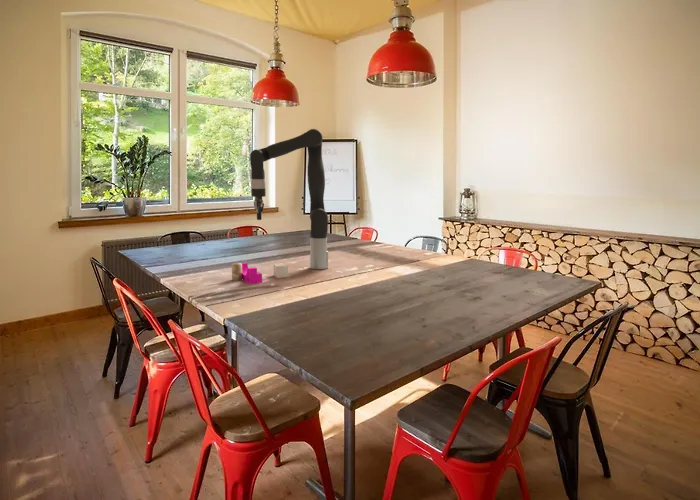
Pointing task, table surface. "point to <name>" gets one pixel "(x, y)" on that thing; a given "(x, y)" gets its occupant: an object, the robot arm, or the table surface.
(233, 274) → the birch cylinder
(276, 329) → the table surface
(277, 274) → the beige cube
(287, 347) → the table surface
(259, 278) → the toy block
